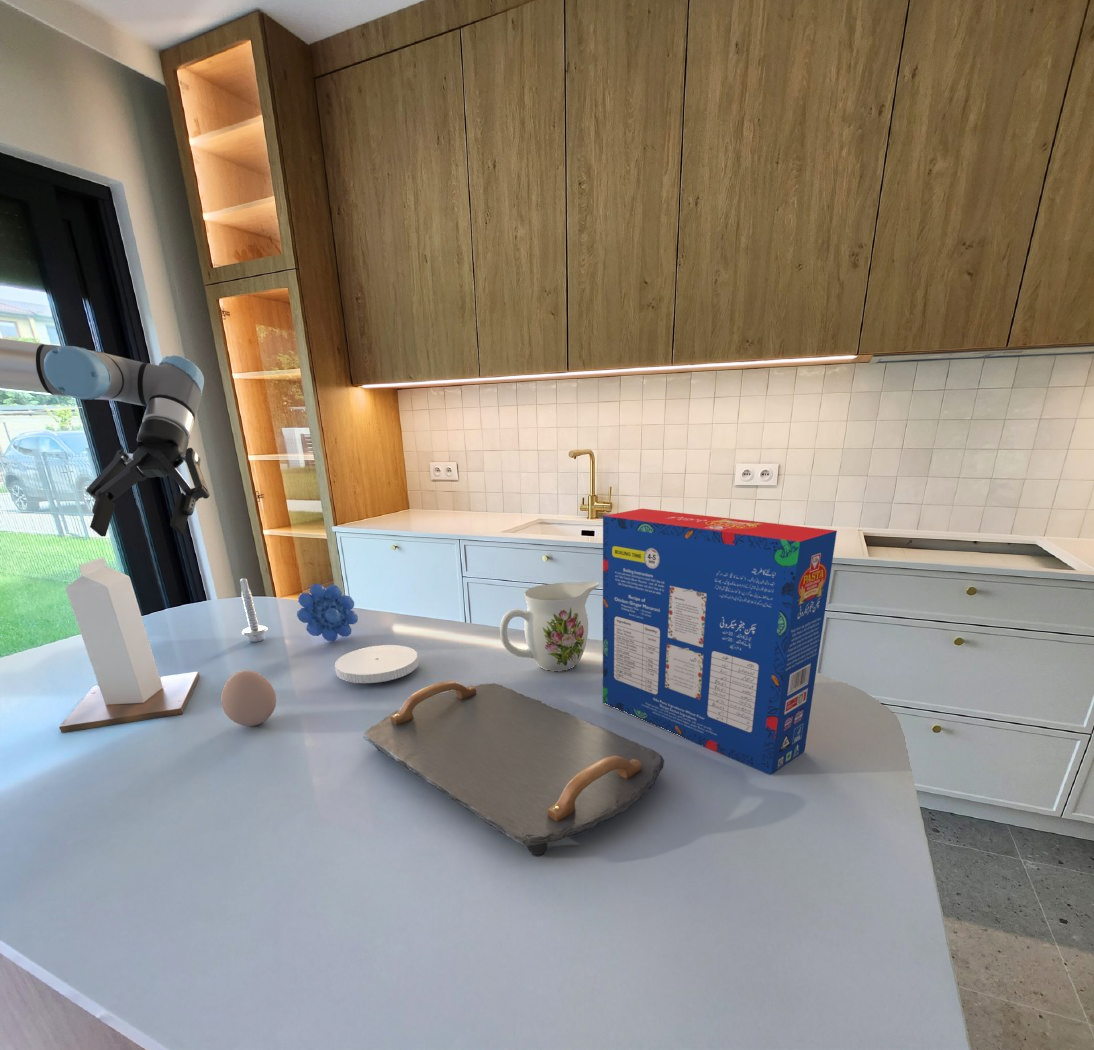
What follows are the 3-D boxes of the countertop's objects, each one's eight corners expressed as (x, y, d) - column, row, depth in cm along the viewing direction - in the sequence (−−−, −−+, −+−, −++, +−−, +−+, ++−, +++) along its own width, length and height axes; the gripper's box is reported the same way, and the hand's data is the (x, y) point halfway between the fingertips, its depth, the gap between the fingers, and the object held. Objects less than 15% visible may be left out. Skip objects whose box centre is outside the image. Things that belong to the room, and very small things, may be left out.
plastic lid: (348, 696, 100) (346, 681, 99) (328, 668, 111) (326, 655, 110) (430, 676, 106) (429, 662, 105) (404, 652, 117) (402, 639, 116)
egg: (285, 726, 91) (273, 673, 87) (231, 740, 87) (217, 685, 84) (276, 708, 96) (264, 658, 93) (225, 721, 93) (212, 669, 90)
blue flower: (310, 653, 118) (299, 592, 114) (299, 644, 123) (287, 585, 119) (368, 639, 125) (359, 581, 120) (355, 631, 130) (346, 575, 125)
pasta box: (804, 751, 79) (836, 530, 68) (770, 775, 75) (799, 541, 64) (637, 688, 99) (642, 508, 88) (602, 703, 94) (602, 515, 83)
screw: (271, 635, 130) (267, 642, 125) (246, 637, 129) (241, 645, 124) (258, 573, 124) (253, 579, 120) (232, 575, 124) (226, 581, 119)
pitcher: (494, 662, 111) (488, 587, 106) (586, 647, 117) (585, 575, 111) (512, 685, 101) (507, 604, 96) (612, 667, 107) (612, 590, 102)
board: (61, 732, 91) (58, 726, 91) (95, 691, 105) (93, 685, 105) (182, 714, 96) (180, 708, 95) (199, 676, 110) (198, 671, 109)
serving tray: (351, 745, 85) (344, 704, 82) (484, 692, 99) (481, 656, 97) (546, 883, 59) (544, 829, 56) (688, 784, 73) (691, 738, 71)
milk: (163, 688, 103) (125, 555, 94) (143, 703, 97) (100, 564, 89) (126, 689, 103) (84, 557, 94) (103, 705, 97) (57, 566, 89)
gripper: (243, 445, 116) (221, 541, 108) (112, 448, 116) (81, 545, 108) (222, 414, 109) (197, 515, 101) (83, 418, 109) (47, 519, 101)
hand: (137, 530), depth 104 cm, fingers open, 13 cm apart
